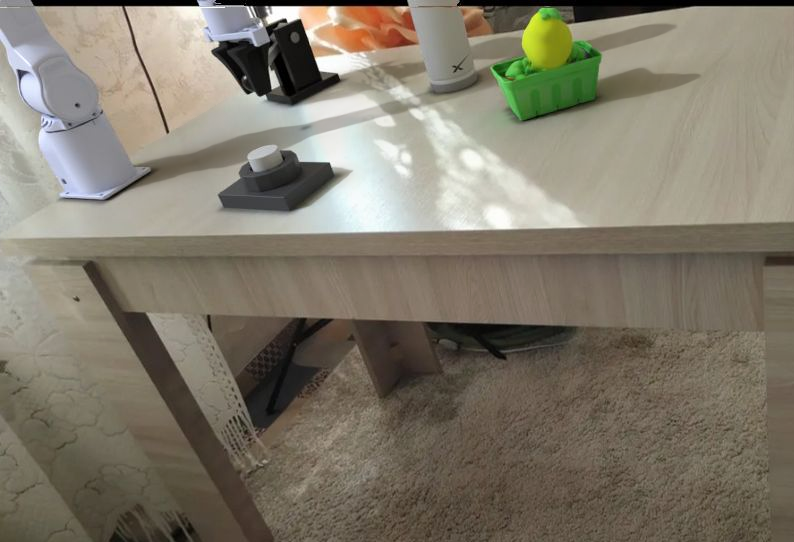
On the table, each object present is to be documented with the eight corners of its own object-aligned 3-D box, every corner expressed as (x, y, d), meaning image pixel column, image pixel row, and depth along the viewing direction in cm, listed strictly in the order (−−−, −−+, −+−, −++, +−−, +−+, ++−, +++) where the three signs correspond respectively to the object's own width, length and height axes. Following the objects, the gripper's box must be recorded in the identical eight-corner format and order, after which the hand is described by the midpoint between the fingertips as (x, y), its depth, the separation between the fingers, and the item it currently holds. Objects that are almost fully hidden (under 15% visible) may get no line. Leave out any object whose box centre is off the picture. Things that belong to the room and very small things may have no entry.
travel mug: (474, 89, 99) (433, -83, 87) (426, 96, 101) (380, -71, 89) (484, 71, 104) (446, -94, 92) (438, 79, 106) (395, -82, 94)
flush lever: (259, 97, 109) (244, 82, 107) (249, 95, 111) (233, 80, 109) (302, 37, 111) (287, 21, 109) (291, 36, 113) (276, 20, 111)
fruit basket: (588, 80, 92) (573, -19, 86) (614, 102, 85) (600, -5, 79) (497, 108, 92) (475, 10, 85) (516, 132, 84) (494, 27, 78)
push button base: (223, 208, 85) (210, 179, 83) (270, 174, 91) (258, 146, 89) (290, 211, 81) (277, 181, 78) (335, 176, 86) (324, 146, 84)
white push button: (247, 173, 83) (240, 158, 82) (267, 159, 86) (261, 144, 85) (270, 174, 82) (263, 159, 81) (290, 159, 84) (284, 144, 83)
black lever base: (292, 105, 111) (265, 35, 105) (267, 100, 115) (240, 34, 110) (340, 81, 115) (318, 13, 109) (315, 77, 120) (291, 12, 114)
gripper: (270, -17, 100) (308, 85, 108) (218, -16, 109) (257, 78, 117) (224, 2, 96) (267, 106, 104) (174, 1, 106) (217, 96, 114)
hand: (259, 92), depth 110 cm, fingers closed on flush lever, 3 cm apart
